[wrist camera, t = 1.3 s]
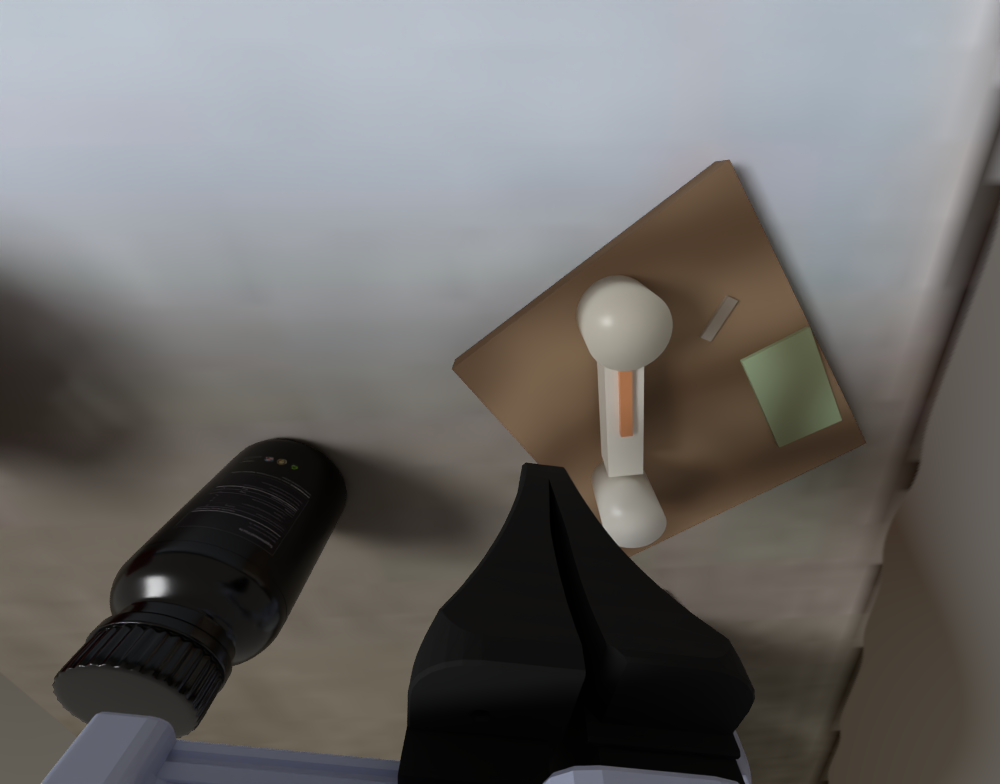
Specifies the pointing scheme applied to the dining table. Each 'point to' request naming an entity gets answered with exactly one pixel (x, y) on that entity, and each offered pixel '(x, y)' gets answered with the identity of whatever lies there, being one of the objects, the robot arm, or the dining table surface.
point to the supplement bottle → (208, 588)
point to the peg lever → (624, 401)
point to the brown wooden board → (678, 363)
